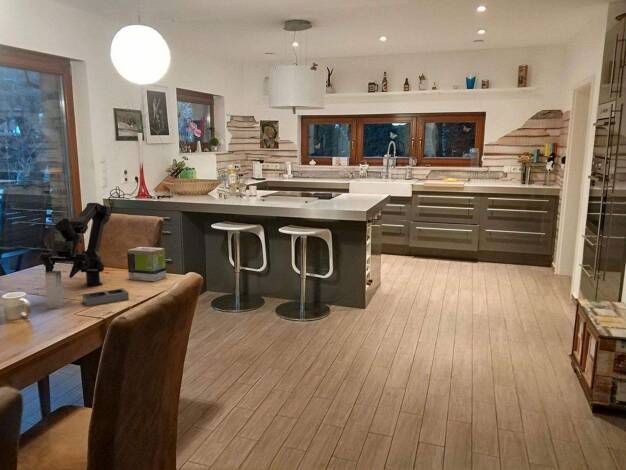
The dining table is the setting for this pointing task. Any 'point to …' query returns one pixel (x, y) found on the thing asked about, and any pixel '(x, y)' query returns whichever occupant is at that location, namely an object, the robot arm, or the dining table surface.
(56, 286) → the grey tall block
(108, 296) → the grey compartment tray
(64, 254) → the robot arm
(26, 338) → the dining table surface
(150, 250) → the tea box
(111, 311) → the dining table surface
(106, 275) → the dining table surface
